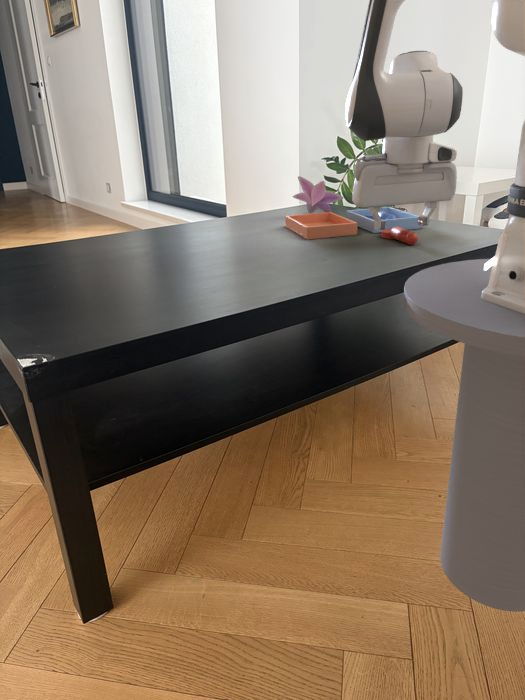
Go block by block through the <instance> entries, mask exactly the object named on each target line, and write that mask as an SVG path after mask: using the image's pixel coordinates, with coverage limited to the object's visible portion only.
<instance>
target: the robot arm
mask: <svg viewBox="0 0 525 700" xmlns="http://www.w3.org/2000/svg"><path fill="white" fill-rule="evenodd" d="M404 2H406V0H369V1H368V4H367V5H368V6H367V11H366V15H365V20H364V24H363V29H362V35H361V41H360V44H359V49H358V54H357V59H356V64H355V69H354V73H353V77H352V79H351V80H352V81H351V84H350V88H349V91H348V94H347V97H346V101H345V110H344V111H345V112H344V113H345V120H346V121H345V122H346V127H347V128H348V130H350V131H351V132H352V133H353V134H354V135H355V136H356V137H357V138H359V139H360V140H362V141H363V142H368V141H376V140H383V141H382V153H375V154H363V155H361V157H359V158H358V159H357V160H356V161H355V162H354V168H353V176H354V180H353V186H352V195H351V201H352V203H353V204H354V205H355V206H356V207H358V208H361V209H370V213H371V215H372V217H373V219H374V220H375V221H374V228H375V230H384V229H385V223H386V221H385V220H382V219H381V218H380V216H379V213H378V212H381V208H382V207H392V206H402V205H403V206H404V205H413V204H423V206H424V207H425V209H424V211H423V212H422V214H421V215H418V220H419V221H418V225H421V227H426V226H429V225H430V221H431V220H430V218H431V217H432V215H433V213H434V212H435V210H436V208H437V203H438V202H447V201H448V202H449V201H451V200H452V199H453V198H454V196H455V195H456V190H457V177H458V176H457V171H458V170H457V166H456V164H455V163H454V161H456V159H457V154H458V151H457V149H455V148H454V147H450V146H448V145H444V144H441V143H438V142H435V141H434V136H436V135H440V134H444V133H446V132H448V131H449V130H450V129H451V128H452V127H453V126H455V124H456V123H457V121H459V119H460V118H461V117H460V116H461V113H462V105H463V94H464V92H463V90H464V89H463V86H462V84H461V83H460V81H459V79H458V78H457V77H456V76H455V75H454V74H453V73H451V72H446V71H444V70H443V69H441V68H440V67H439V65H438V57H437V55H436V54H435V53H434V52H431V51H428V50H412V51H408V52H402V53H400V54H398V55H396V56H394V58H393V59H392V60H391V63H390V68H389V72H386V71H385V70H384V68H385V64H386V59H387V55H388V52H389V51H388V50H389V46H390V42H391V37H392V33H393V29H394V23H395V19H396V16H397V14H398V10H400V8H401V6H402V4H403V3H404ZM490 21H491V28H492V31H493V34H494V37H495V38H496V41H498V43H499V44H500V45H501V46H502V47H503V48H505V49H506V50H508V51H511V52H512V53H515V54H517V55H520V56H523V57H525V0H492V2H491V9H490ZM515 169H516V170H515V175H514V176H515V178H514V182H513V183H512V184H511V185H510V188H509V194H507V207H506V212H507V213H508V214H509V215H508V220H507V223H506V225H505V227H504V229H503V231H502V233H501V234H500V236H499V238H498V241H497V247H496V250H495V254H494V256H493V257H492V258H489V259H490V260H489V261H488V262H487V263H485V264H484V270H487V269H489V268H490V267H491V266H492V265H493V267H492V271H491V275H490V280H489V283H488V286H487V287H486V288H485V289H483V291H482V294H481V299H483V300H485V301H488V302H491V303H494V304H497V305H500V306H503V307H506V308H509V309H511V310H514V311H517V312H520V313H523V314H525V119H524V120H523V123H522V127H521V133H520V140H519V147H518V153H517V162H516V168H515Z"/></svg>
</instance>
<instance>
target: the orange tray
mask: <svg viewBox="0 0 525 700" xmlns="http://www.w3.org/2000/svg"><path fill="white" fill-rule="evenodd" d="M284 218H285V219H284V221H285V224H284V225H285V228H287V229H289V230H290V231H292V232H294V233H295V234H297V235H299V236H300V237H302V238H304V239H305V240H308V241H309V240H316V239H317V240H318V239H326V238H336V237H346V236H357V235H358V226H357V222H354V221H352V220H349V219H347V218H346V217H345V216H342V215H339V214H337V213H335V212H333V211H332V212H325V211H323V212H313V213H311V214H309V213H303V214H291V215H284Z"/></svg>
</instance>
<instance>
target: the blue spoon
mask: <svg viewBox="0 0 525 700" xmlns="http://www.w3.org/2000/svg"><path fill="white" fill-rule="evenodd" d="M378 213H379V216H380V218H381V219H382V220H388V219H396V217H395V216H394V215H392V214H388V213H385V212H382V211H381V212H378ZM366 217H367V218H370V219H373V217H372V215H371V213H370V214H366ZM373 220H374V219H373Z"/></svg>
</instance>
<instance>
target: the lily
mask: <svg viewBox="0 0 525 700" xmlns="http://www.w3.org/2000/svg"><path fill="white" fill-rule="evenodd" d="M297 179H298V182H299V184H300V187H301V189H302V191H303V192H299V193H296V194H294V195H292V198H294V199H296V200H298V201H302V202H304V203H305V204H306V210H307V214H313V213H316V212H317V211H318V210H321V211H322V212H332V213H333V211H332V208H331V206H330V204H333V203H335V202H339V201H341V200H343V199H344V196H342V195H341V194H339V193H336V192H333V191H331V190H330V191H329V190H327V189H326V187H327V186H326V182H325V181H324V180H321V181H319V182H318V183H316V184H314V183H312V182H311V181H310V180H308V179H307V178H305V177H302V176H297Z"/></svg>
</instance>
